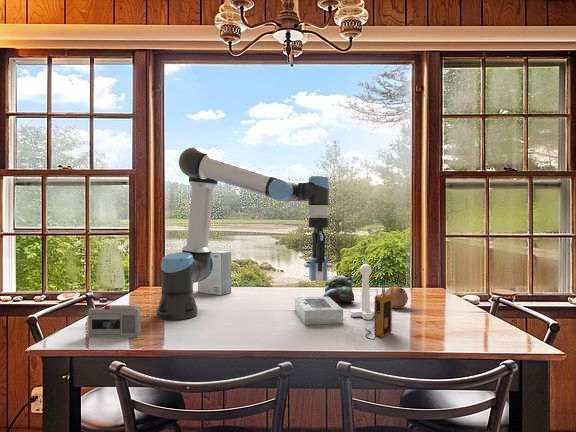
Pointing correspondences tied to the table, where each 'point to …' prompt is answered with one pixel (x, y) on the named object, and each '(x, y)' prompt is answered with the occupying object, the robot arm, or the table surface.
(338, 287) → the dark grey rock
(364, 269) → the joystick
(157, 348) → the table surface
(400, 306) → the onion
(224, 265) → the hard drive box
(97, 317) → the cassette player
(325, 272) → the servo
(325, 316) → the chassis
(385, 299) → the multimeter
